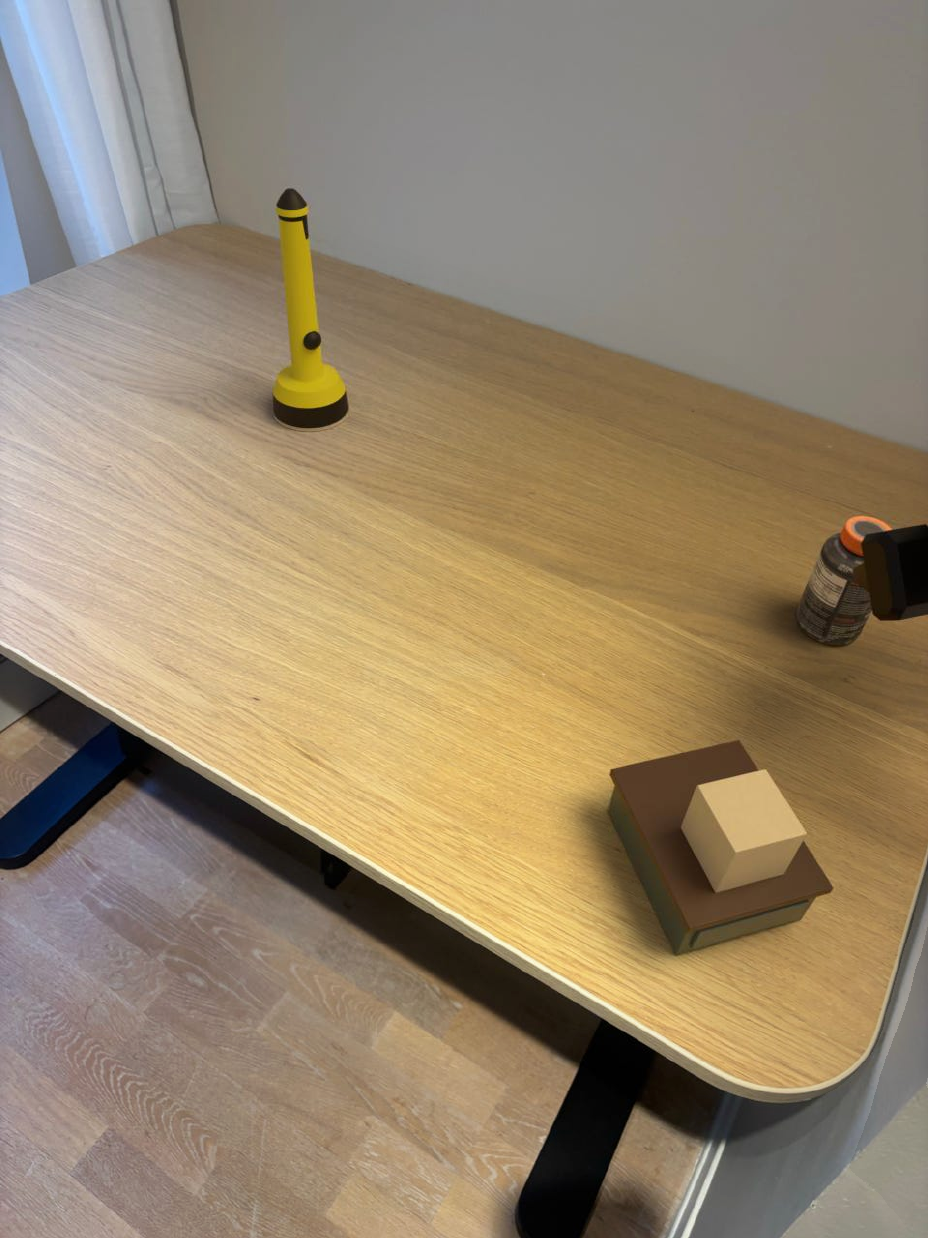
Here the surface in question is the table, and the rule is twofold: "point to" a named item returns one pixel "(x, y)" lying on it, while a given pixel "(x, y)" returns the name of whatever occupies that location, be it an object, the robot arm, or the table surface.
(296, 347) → the flashlight
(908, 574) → the robot arm
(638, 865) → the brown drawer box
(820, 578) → the pill bottle
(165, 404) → the table surface
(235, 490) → the table surface
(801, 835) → the beige cube
